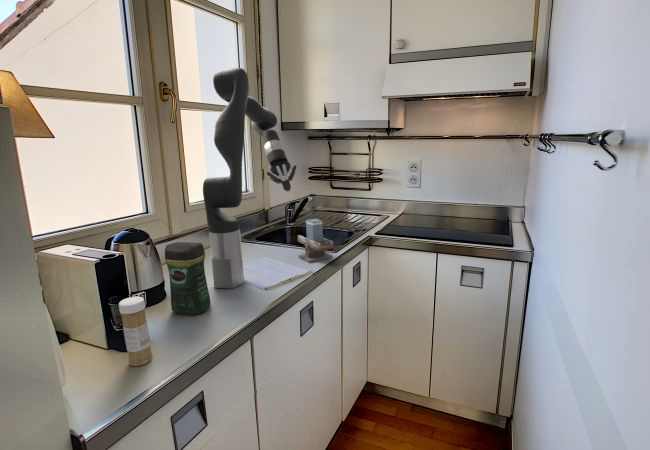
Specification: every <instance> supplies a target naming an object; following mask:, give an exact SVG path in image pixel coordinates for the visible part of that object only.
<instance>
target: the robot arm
mask: <svg viewBox="0 0 650 450" xmlns="http://www.w3.org/2000/svg"><path fill="white" fill-rule="evenodd" d="M212 85H213V89H214V90H215V92H216V95H218V96H219V98H221V99H222V100H223V101H225V102H226V103H228V104H227V105H226V106H225V108H224V109H223V110H222V112H221V113H220V114H219V116H218V118H217V119H216V121H215V126H214V135H213V142H214V143H213V144H214V145H215V147H216V149H217V151H218V152H219V154H220V156H222V158H223V159H224V161H225V163H226V165H227V167H228V168H229V176H218V177H217V176H215V177H206V178H205V179H204V181H203V184H202V194H203V202H204V203H203V204H204V209H205V216H206V222H207V227H208V236H209V246H210V254H211V255H210V257H211V258H210V259H211V261H210V262H211V268H212V270H211V271H212V278H213V288H214V289H234V288H236V287H238V286H241V285H242V284H243V283H245V273H244V272H245V271H244V265H243V263H244V261H243V251H242V250H243V249H242V239H241V238H242V236H241V225H240V224H241V223H240V221H239V219H238V218H237V217H232V216H229V215H227V214H225V212H224V213H223V212H222V211H221V209H230V208H231V209H233V208H238V207H240V205H241V203H242V199H243V154H244V144H245V128H246V127H245V125H246V124H245V123H246V116H247V117H248V119H249V120H250V121H251V126H252V128H253V129H254V131H255V132H256V133H257V134H258V136H259V137H260V139H261V142H262V145H263V148H264V153H265V156H266V159H267V162H268V164H269V166H270V167H269V171H267V172H266V177H267V179H269V180H270V181H272V182H274V183H276V184H281V185H282V188H283V191H285V192H290V191H291V188H292V186H291V181H293V178H294V177H295V174H296V172H297V167H298V166H297V165H291V163H290V162H289V160H288V156H287V154H286V151H285V149H284V146H283V145H282V142H281V140H280V136H279V133H278V132H277V131H276V130H275V129H273V128H274V127H276V126H277V124H278V117H277V116H276V114H275V113H274V112H273V111H272V110H270V109H268V108H266V107H264V106H262V104H261V103H260V102H259V101H258V100H257V99H256V98H255V97H252V96H250V95H249V92H250V80H249V76H248V74H247V71H246V70H245V69H244V68H241V67H234V68H230V69H224V70H220V71H217V72H215V74H213V78H212ZM289 172H290V174H289ZM288 174H289V176H288Z"/></svg>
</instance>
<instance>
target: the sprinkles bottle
mask: <svg viewBox="0 0 650 450" xmlns="http://www.w3.org/2000/svg"><path fill="white" fill-rule="evenodd" d="M118 309H119V313H120V315H121V321H122V329H123V336H124V341H125V346H126V350H127V358H128V365H130V366H132V367H139V366H144V365H146V364H148V363H149V362H151V360H153V354H152V349H151V348H152V347H151V340H150V332H149V325H148V321H147V315H146V303H145V298H144V297H142V296H130V297H127V298H124V299H122V300H120V301H119V303H118Z"/></svg>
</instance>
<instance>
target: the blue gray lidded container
mask: <svg viewBox="0 0 650 450" xmlns="http://www.w3.org/2000/svg"><path fill="white" fill-rule="evenodd" d="M323 223H324V221H323V220H321V219H318V218H311V219H305V227H306V237H307V238H308V239H310V240H312V241H315V242H317V243H320V242H323V238H324V234H323V233H324V232H323V231H324V230H323V229H324V228H323Z"/></svg>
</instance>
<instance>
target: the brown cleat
mask: <svg viewBox="0 0 650 450" xmlns="http://www.w3.org/2000/svg"><path fill="white" fill-rule="evenodd" d="M297 242H298V243H300V244H303V245H304V249H305V251H304V252H305V253H303V254H299V255H298V256H297V257H298V258H299V259H301V260H302V261H305V262H307V263H311V264H312V263H314V262H318V261H323V260H328V259H332V258H333V255H332V254H329V253H327V252H325V251H326V250H331V249H333V248H334V241H333V240H330V239H328V238H325V237H323V242H320V243H317V242H315V241H312V240H310V239H308V238H307V236H306V237H304V236H303V235H300V234H297Z"/></svg>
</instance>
